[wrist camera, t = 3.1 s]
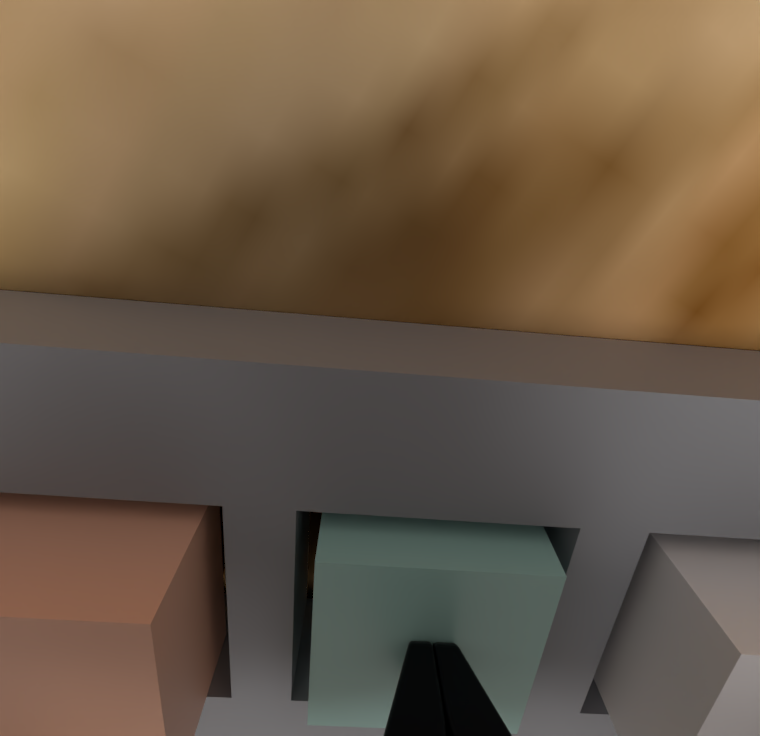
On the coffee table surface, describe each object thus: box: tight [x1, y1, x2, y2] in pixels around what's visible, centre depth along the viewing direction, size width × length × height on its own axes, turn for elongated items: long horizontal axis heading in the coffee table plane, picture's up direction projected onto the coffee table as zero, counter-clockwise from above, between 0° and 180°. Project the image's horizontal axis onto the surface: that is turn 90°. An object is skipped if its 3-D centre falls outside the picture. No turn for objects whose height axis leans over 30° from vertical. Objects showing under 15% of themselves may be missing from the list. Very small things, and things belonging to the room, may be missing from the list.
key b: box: [594, 533, 760, 736], centre depth 9 cm, size 4×4×3 cm
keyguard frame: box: [0, 290, 760, 736], centre depth 10 cm, size 25×10×2 cm, turn 85°
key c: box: [307, 512, 567, 734], centre depth 10 cm, size 4×4×3 cm
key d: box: [0, 492, 226, 736], centre depth 8 cm, size 4×4×3 cm
